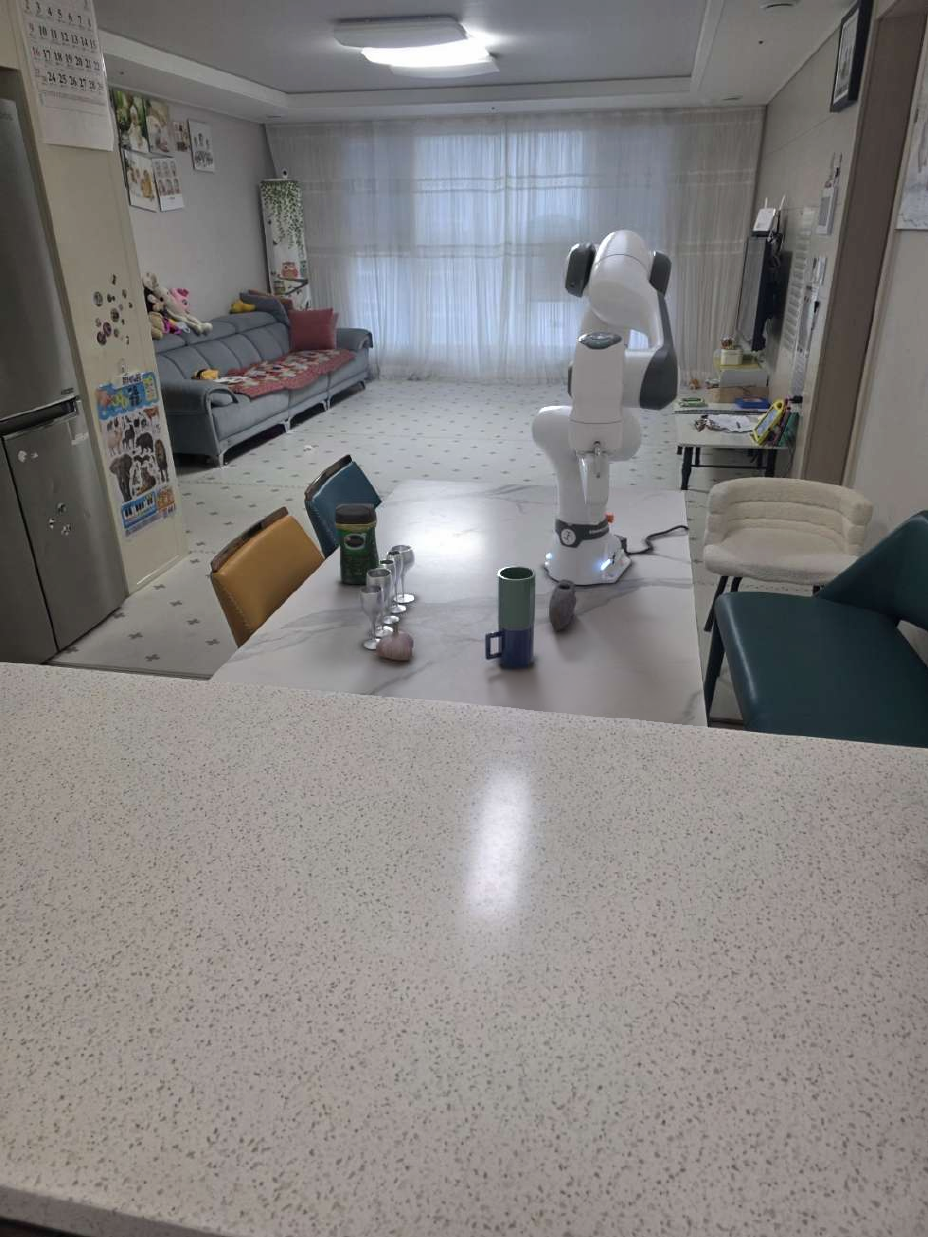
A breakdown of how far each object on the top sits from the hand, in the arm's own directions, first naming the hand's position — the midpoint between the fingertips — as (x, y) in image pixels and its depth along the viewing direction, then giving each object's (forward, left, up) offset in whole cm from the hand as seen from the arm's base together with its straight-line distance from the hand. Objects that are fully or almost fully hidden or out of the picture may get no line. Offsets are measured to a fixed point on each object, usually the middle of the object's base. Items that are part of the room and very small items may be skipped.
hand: (591, 514), depth 144 cm
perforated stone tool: (-13, -13, -29) cm, 35 cm away
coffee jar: (-6, -64, -29) cm, 71 cm away
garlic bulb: (+19, -31, -29) cm, 47 cm away
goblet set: (+7, -43, -29) cm, 52 cm away
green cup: (+7, -11, -21) cm, 25 cm away
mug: (+8, -12, -29) cm, 32 cm away
